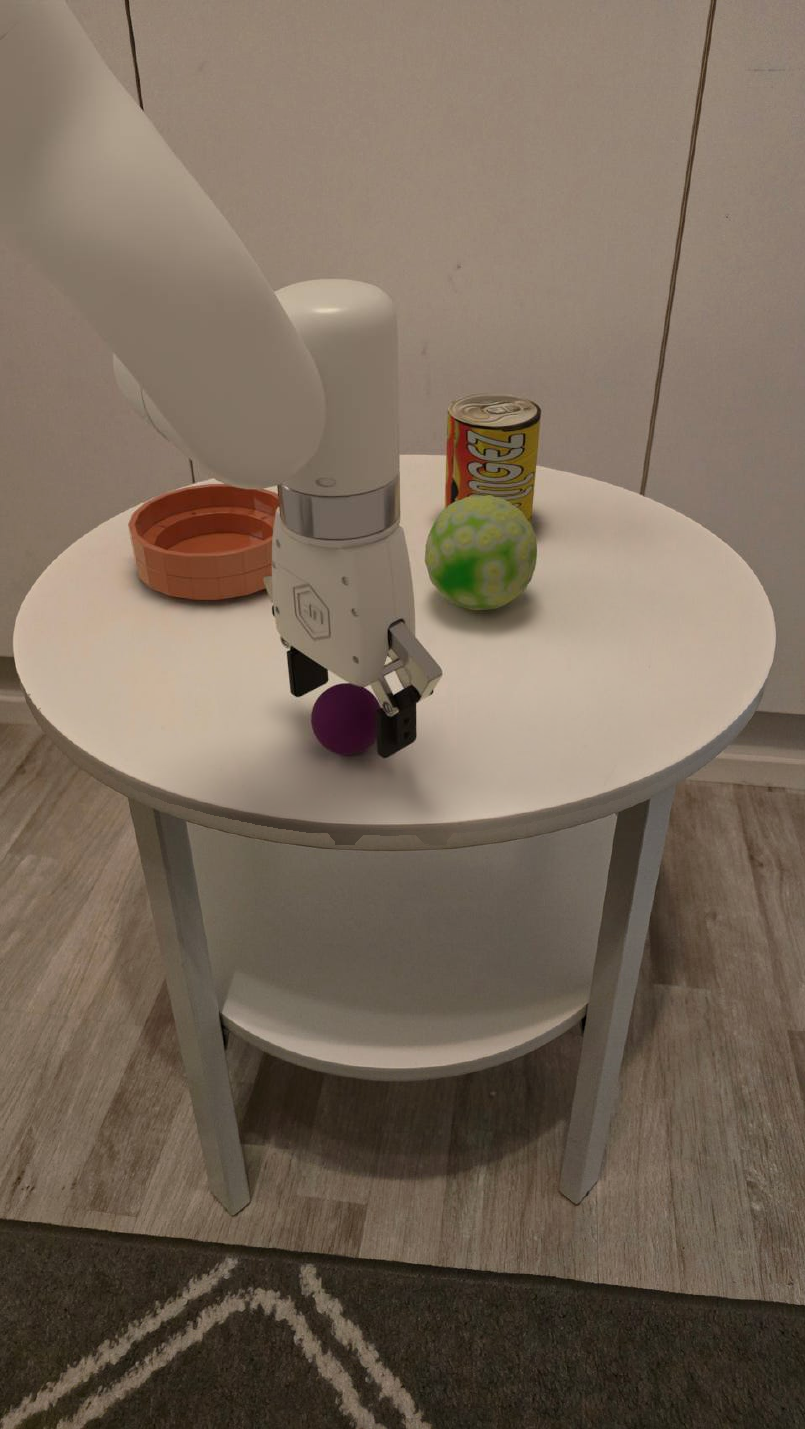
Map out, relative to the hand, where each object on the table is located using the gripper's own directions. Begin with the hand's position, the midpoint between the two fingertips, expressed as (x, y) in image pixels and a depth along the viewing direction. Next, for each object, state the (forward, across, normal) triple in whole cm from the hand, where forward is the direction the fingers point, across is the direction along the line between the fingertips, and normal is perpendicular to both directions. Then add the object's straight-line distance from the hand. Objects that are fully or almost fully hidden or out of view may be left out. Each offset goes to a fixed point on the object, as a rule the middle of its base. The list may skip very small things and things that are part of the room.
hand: (351, 717), depth 71 cm
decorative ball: (+3, -8, +22) cm, 23 cm away
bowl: (+3, -30, +8) cm, 31 cm away
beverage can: (+3, -18, +34) cm, 39 cm away
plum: (+3, 0, 0) cm, 3 cm away
